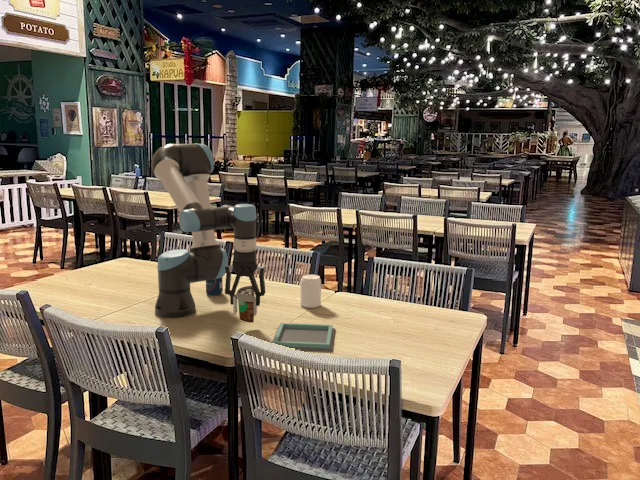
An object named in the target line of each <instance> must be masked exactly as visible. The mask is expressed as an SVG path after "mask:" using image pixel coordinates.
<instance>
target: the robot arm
mask: <svg viewBox="0 0 640 480" xmlns="http://www.w3.org/2000/svg"><path fill="white" fill-rule="evenodd" d="M150 167H151V170H152V173H153V175H154V177H155V178H156V179H157V180H158V181H160V182H162V184H163V186H164V188H165V189H166V191H167V193H168V194H169V196H170V198H171V200H172V201H173V203H174V204H175V206H176V207H177V209H178V211H179V214H178V224H179V228H180V230H182V231H183V232H184V233H191V234H192V235H191V236H192V243H193V244H192V245H191V246H190V248H189V250H190V252H189V250H188V249H183V248H181V249H178V248H177V249H171V250H168V251H165V252H162V253H161V254H160V255H158V257H157V267H156V268H157V276H158V277H157V278H158V279H157V281H158V294H157V299H156V302H155V305H154V312H155V315H156V316H159V317H162V318H181V317H185V316H190V315H192V314H193V313H195V312H196V302H195V299H194V297H193V295H192V293H191V284H192V283H198V282H199V283H201V282H206V281H207V280H214V279H218V278H221V277H222V278H223V277H224V276H225V284H224V285H225V286H224V287H225V288H224V294H225V295H227V296H229V300H230V302H229V304H230V305H231V306H232V308H233V309H232V311H233V314H232V315H237V313H238V299H237V298H236V294H237V293H236V292H237V288H238V286H239V282H240V279H241V278H242V277H246V278H248V279H249V280H250V283H251V284H250V285H251V286H252V287H253V290H254V317H256V316H257V314H258V307H259V306H260V305H261V297H264V296H265V294H266V282H265V271H266V267H265V266H260V265H258V263H257V250H256V249H257V217H258V216H257V208H256V206H255V205H254V204H251V203H249V204H248V203H238V204H235V205H231V204H229V205H228V204H224V205H221V206H220V207H219V206H218V207H212V206H211V200H210V192H209V185H208V184H209V183H208V180H209V179H210V177H211V173H213V172H214V169H215V159H214V155H213V153H212V150H211V149H210V147H209V146H208V145H206V144H203V143H196V142H195V143H167V144H164V145H162V146H160V147H159V148H158V149H157V150H156V151H155V152H154V153H153V155H152V159H151V166H150ZM223 229H232V230H233V249H234V251H233V264H230V265H229V257H228V254H227V251H226V250H225V249H224V248H222V247H221V244H220V242H218V241H217V240H216V234H215V230H223ZM233 270H234V272H235V273H236V275H235V278H234V282H233V285H232V287H231V281H232V272H233ZM255 271H257V273H259V276H258V277H259V286H258V282H257V279H256V275H255ZM259 288H260V289H259Z"/></svg>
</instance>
